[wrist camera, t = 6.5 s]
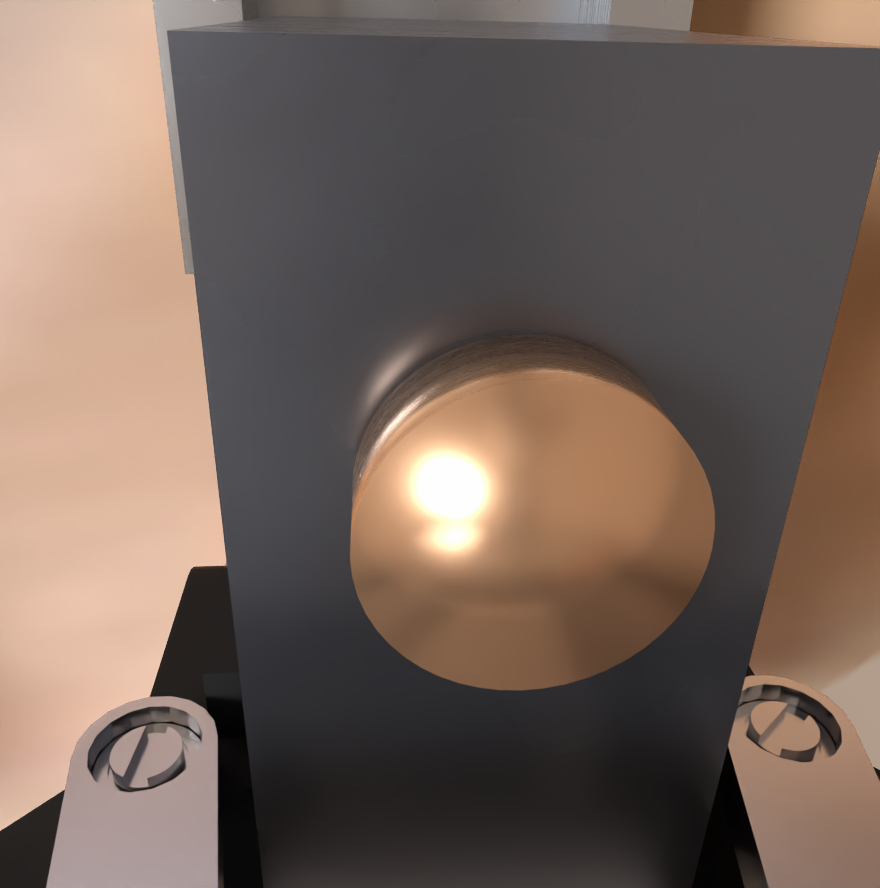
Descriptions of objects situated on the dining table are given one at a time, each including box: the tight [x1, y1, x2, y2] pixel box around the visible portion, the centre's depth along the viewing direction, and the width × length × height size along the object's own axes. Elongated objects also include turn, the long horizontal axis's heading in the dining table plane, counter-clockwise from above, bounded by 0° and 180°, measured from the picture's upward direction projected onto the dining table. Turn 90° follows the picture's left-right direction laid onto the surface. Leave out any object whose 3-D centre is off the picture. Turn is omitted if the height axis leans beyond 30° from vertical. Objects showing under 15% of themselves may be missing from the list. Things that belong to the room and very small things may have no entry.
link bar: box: [167, 16, 880, 888], centre depth 10 cm, size 14×4×7 cm, turn 179°
